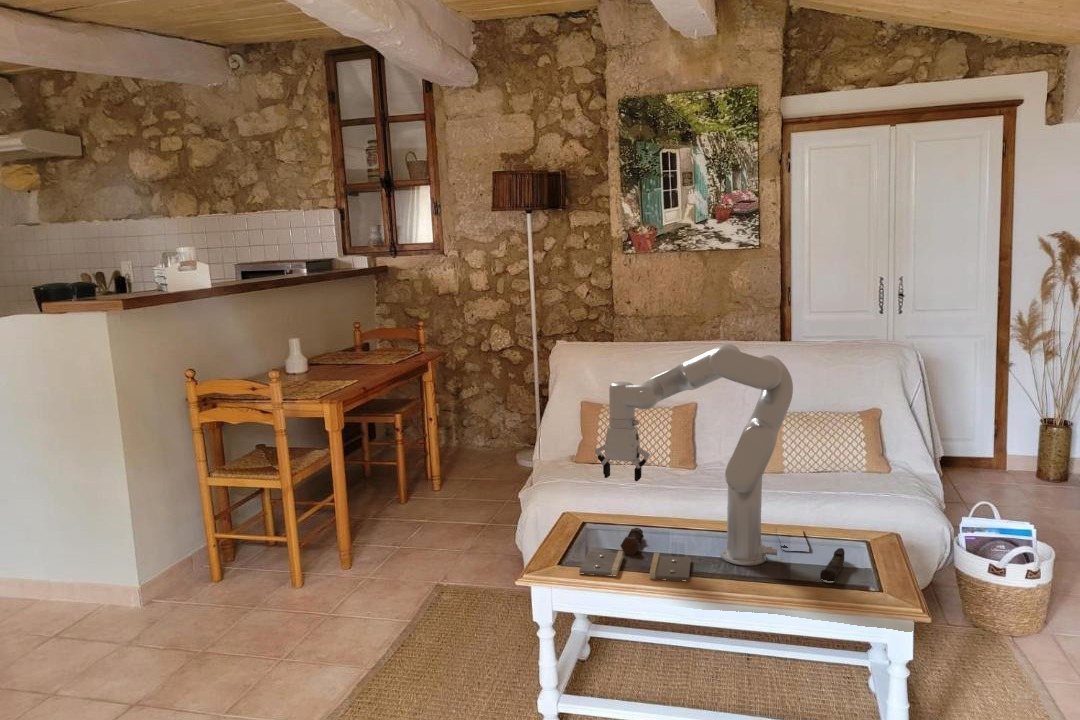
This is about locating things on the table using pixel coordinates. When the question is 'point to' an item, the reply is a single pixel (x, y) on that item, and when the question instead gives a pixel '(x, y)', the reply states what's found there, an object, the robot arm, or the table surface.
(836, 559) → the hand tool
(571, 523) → the table surface
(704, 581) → the table surface
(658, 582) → the table surface
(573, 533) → the table surface
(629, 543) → the bolt
